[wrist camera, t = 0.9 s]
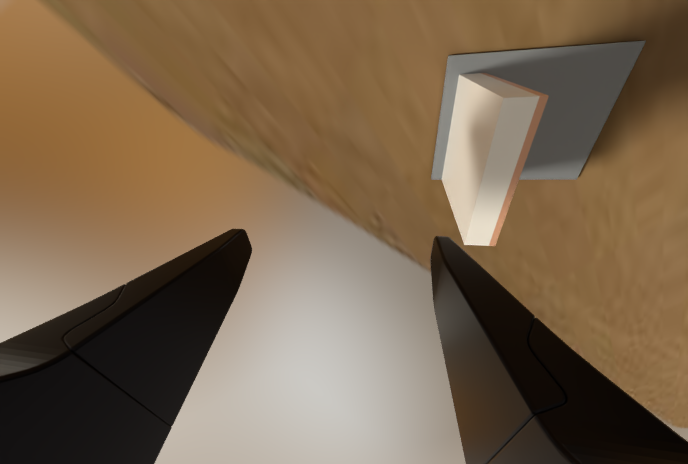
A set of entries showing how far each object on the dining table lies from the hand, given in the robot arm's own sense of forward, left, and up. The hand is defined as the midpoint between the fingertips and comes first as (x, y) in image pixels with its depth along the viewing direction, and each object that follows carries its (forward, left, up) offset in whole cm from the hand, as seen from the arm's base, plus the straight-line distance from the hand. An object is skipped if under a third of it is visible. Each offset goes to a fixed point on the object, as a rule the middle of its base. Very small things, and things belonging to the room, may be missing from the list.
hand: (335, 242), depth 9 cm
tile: (-7, 0, -13) cm, 14 cm away
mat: (-10, 0, -13) cm, 16 cm away
